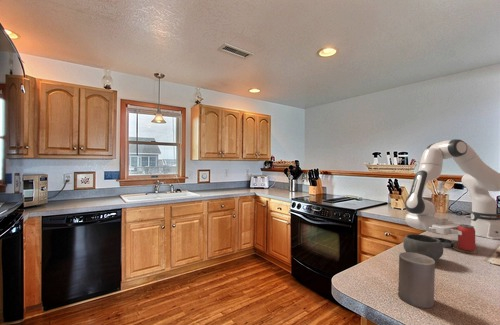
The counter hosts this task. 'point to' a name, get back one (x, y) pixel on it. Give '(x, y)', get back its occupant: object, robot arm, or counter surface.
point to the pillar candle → (416, 279)
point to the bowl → (423, 245)
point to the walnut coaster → (464, 250)
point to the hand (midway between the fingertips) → (467, 232)
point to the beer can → (466, 237)
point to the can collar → (446, 242)
